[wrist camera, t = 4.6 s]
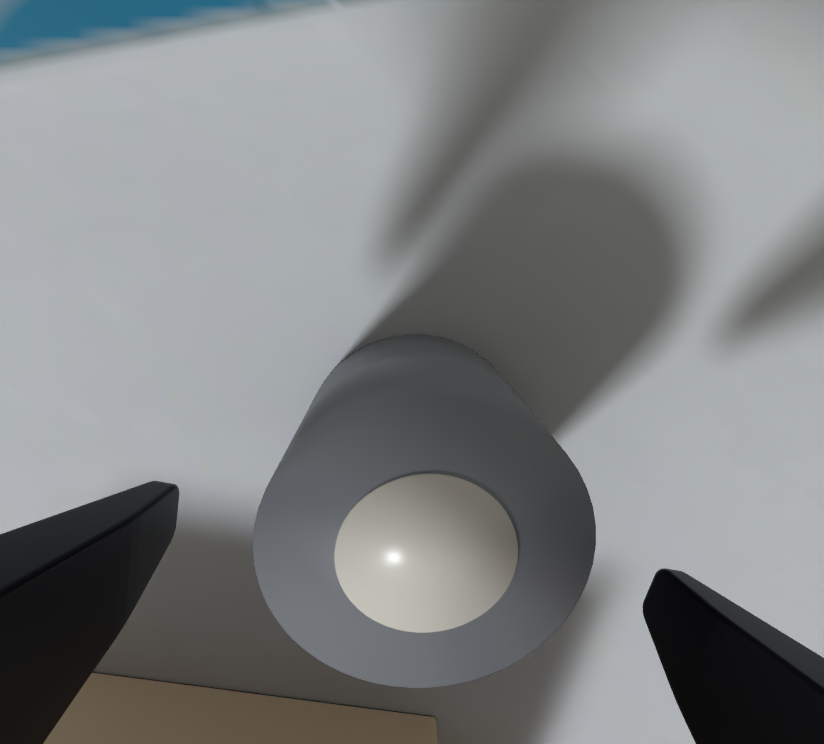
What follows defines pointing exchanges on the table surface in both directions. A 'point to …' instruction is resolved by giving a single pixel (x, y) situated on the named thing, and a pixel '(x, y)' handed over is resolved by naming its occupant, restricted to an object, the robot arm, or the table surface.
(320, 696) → the table surface
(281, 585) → the grey short round piece
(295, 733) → the carton
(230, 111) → the table surface
